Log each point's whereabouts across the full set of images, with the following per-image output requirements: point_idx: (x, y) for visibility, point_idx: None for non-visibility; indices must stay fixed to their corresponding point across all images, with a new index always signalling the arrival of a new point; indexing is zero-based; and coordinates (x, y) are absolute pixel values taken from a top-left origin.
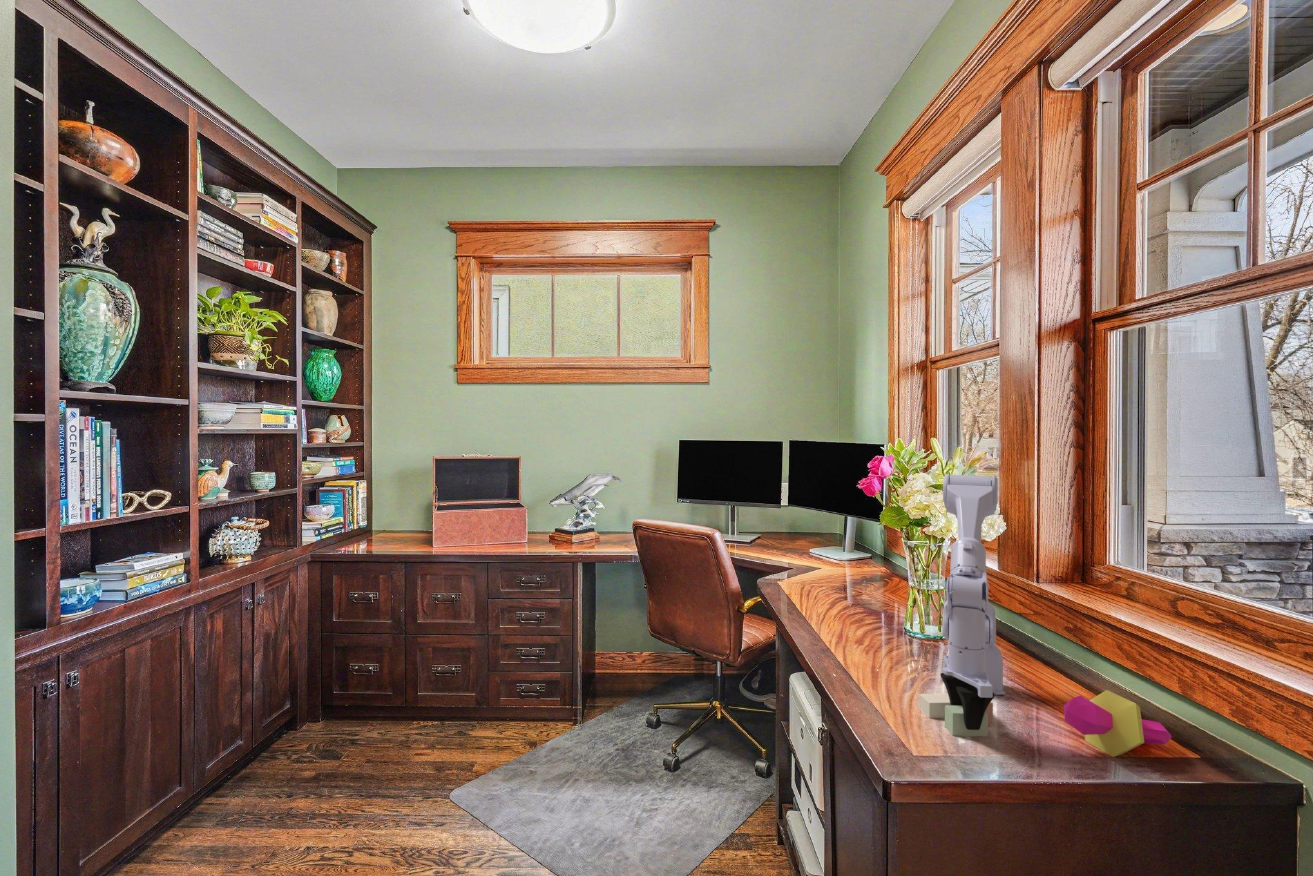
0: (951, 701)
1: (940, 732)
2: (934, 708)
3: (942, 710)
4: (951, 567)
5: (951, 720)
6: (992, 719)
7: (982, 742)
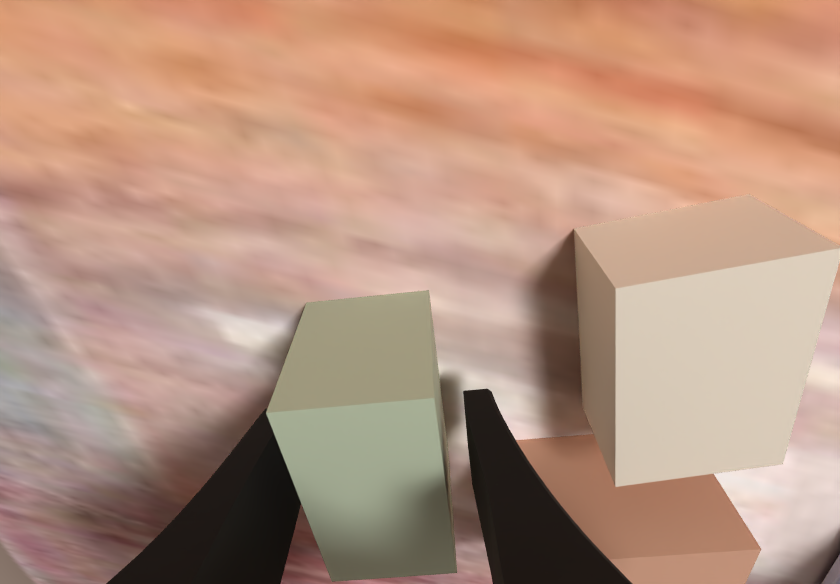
0: (481, 464)
1: (337, 242)
2: (599, 301)
3: (594, 344)
4: None
5: (307, 360)
6: None
7: None
